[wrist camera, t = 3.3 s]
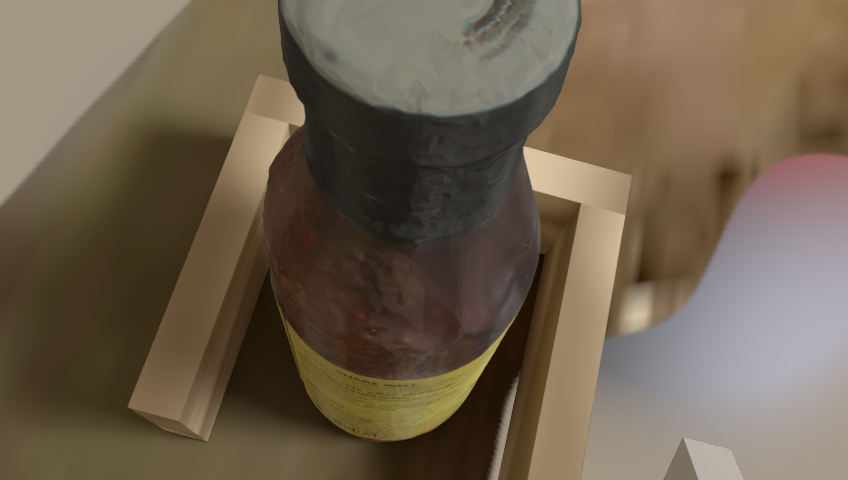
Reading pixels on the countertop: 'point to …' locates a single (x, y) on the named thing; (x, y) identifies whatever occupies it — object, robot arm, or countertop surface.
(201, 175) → the countertop surface
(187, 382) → the wooden u-shaped frame
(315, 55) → the sauce bottle
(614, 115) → the countertop surface
